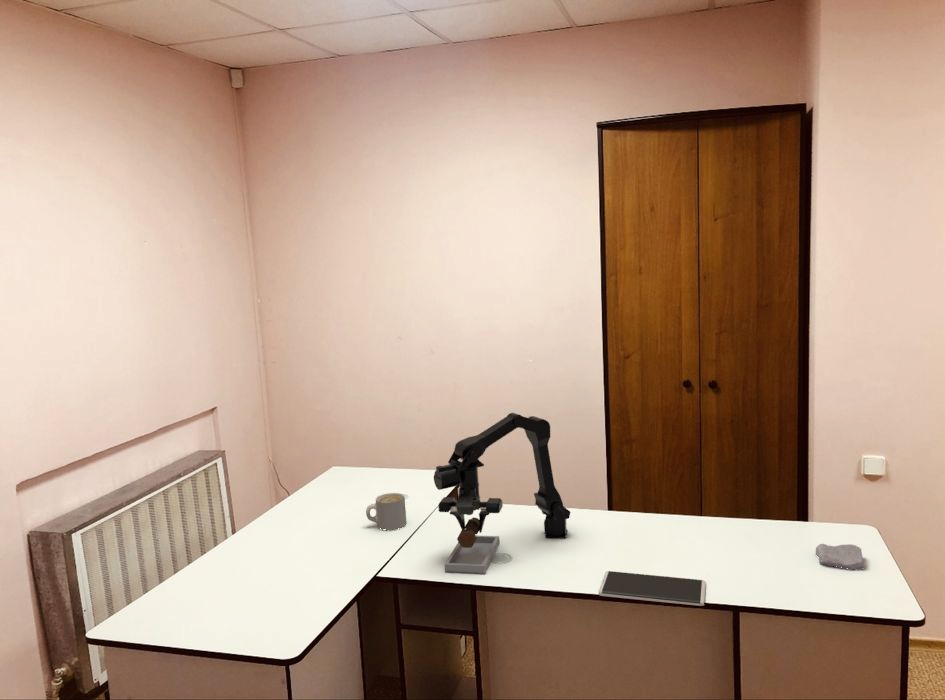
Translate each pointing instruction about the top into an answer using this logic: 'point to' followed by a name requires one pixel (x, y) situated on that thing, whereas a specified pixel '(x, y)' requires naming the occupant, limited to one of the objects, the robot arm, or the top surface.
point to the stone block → (840, 556)
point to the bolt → (469, 533)
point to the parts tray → (473, 556)
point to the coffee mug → (389, 511)
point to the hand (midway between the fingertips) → (472, 532)
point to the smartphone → (653, 588)
